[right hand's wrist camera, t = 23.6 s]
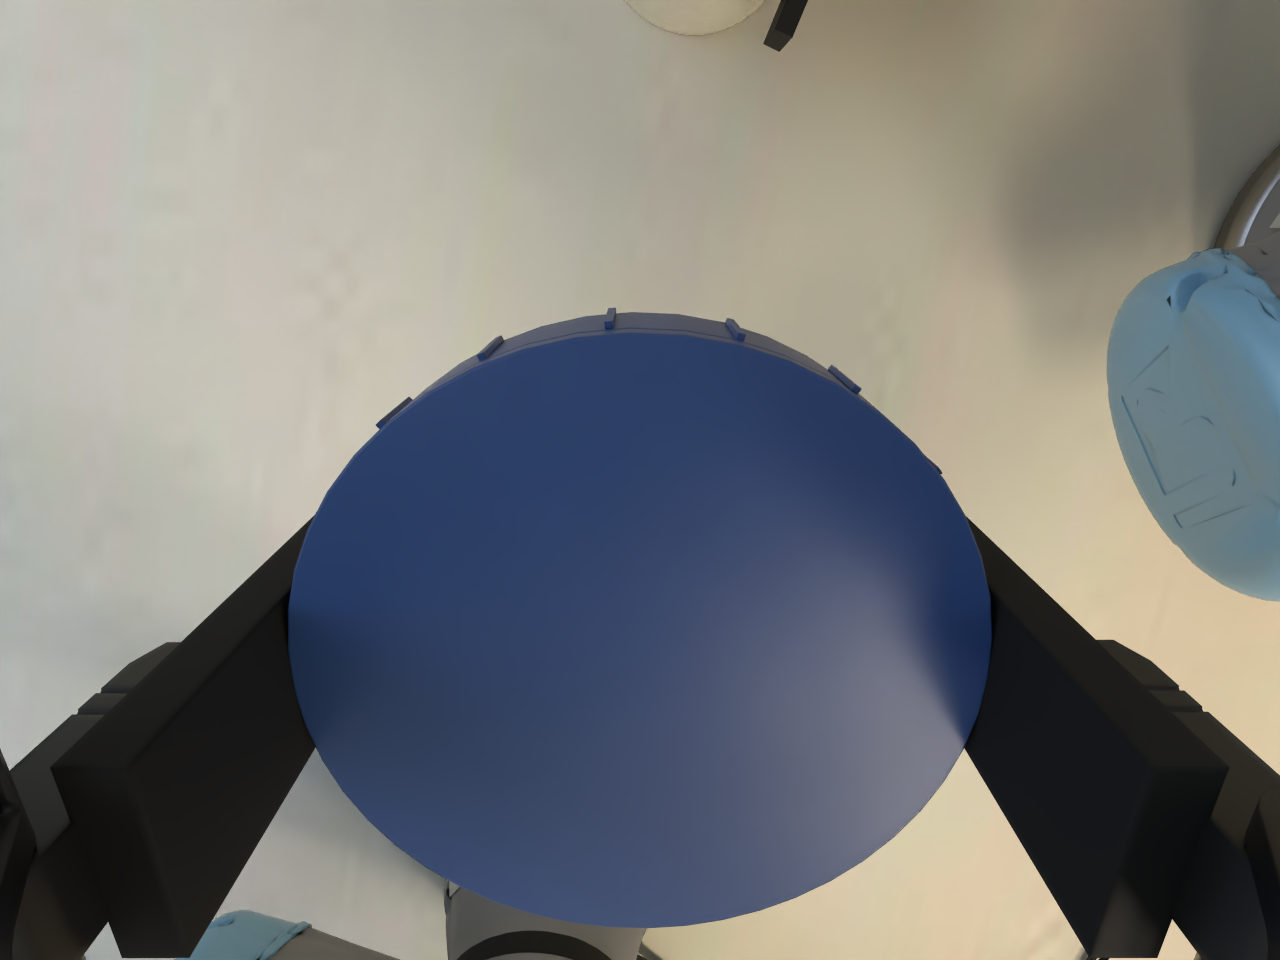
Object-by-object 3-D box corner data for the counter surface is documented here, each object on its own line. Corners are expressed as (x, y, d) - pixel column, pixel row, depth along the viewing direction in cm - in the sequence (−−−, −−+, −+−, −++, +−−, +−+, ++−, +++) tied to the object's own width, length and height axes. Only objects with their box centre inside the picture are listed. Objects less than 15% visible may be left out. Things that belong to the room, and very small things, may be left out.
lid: (251, 713, 13) (191, 791, 11) (487, 166, 9) (454, 157, 8) (736, 909, 14) (749, 1003, 13) (1075, 504, 11) (1153, 557, 10)
